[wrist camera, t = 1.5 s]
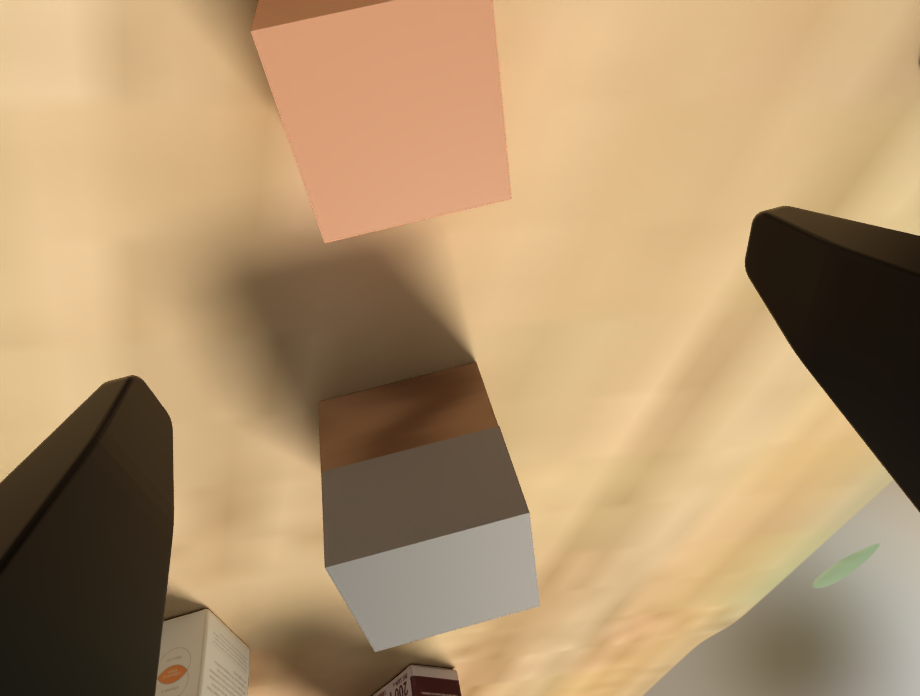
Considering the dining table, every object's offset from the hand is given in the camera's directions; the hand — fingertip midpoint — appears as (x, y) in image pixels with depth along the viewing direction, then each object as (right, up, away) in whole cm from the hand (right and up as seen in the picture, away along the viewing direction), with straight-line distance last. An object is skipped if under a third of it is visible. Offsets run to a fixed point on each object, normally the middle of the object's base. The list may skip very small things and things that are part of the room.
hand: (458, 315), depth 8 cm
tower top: (-1, -7, +16) cm, 18 cm away
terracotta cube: (-2, +8, +9) cm, 12 cm away
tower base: (-2, -4, +19) cm, 20 cm away
